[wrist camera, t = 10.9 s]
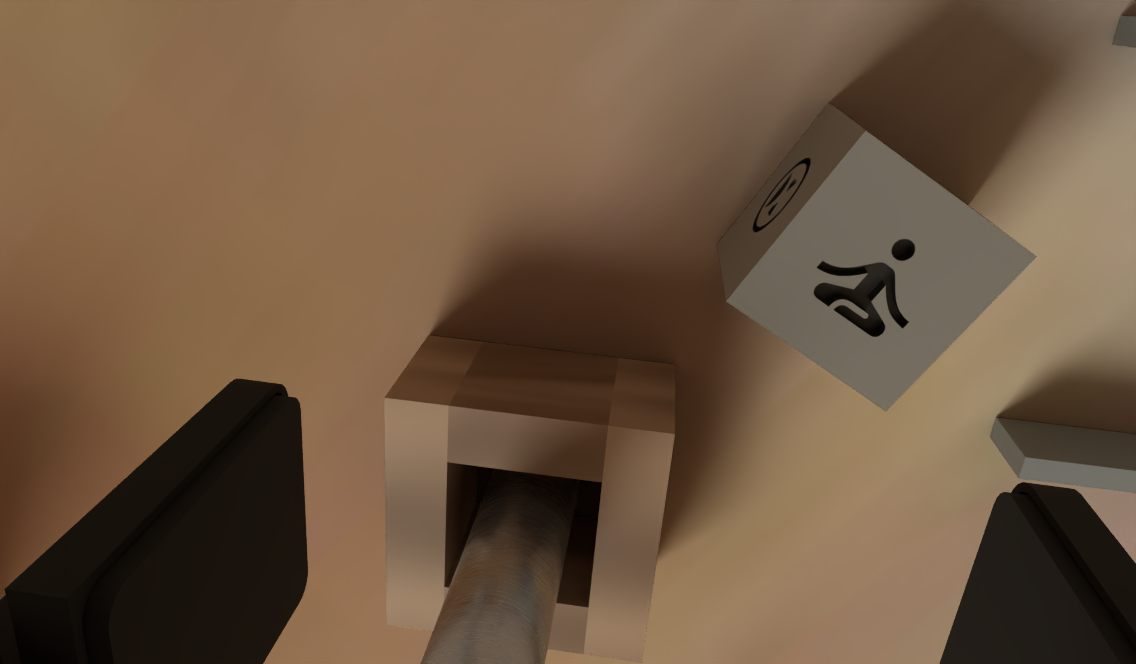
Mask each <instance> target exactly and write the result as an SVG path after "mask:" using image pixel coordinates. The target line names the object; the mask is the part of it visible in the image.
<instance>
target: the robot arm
mask: <svg viewBox="0 0 1136 664" xmlns="http://www.w3.org/2000/svg"><path fill="white" fill-rule="evenodd" d="M307 576H308V561H307V539H306V516H305V494H304V472H303V449H302V427H301V409H300V403H299V401H298V399H297V398H294V397H288V393H287V391H286V388H285V387H284V386H283V385H282V384H276V383H268V382H261V381H253V380H246V379H235V380H233V381H232V382H230V383H229V384H228V385H227V386H226V387H225V388H224V389H223V390H222V391H220V392H219V393H218V394H217V395H216V396H215V397H214V398H213V399H212V400H211V401H210V402H208V403H207V404H206V405H205V406H204V407H203V408H202V409H201V410H200V411H199V412H198V413H196V414H195V415H194V416H193V417H192V418H191V419H190V420H189V421H188V422H187V423H185V424H184V425H183V426H182V427H181V428H180V429H179V430H178V431H177V432H176V433H175V434H173V435H172V436H171V437H170V438H169V439H168V440H167V441H166V442H165V443H164V444H163V445H161V446H160V447H159V448H158V449H157V450H156V451H155V452H154V453H153V454H152V455H151V456H149V457H148V458H147V459H146V460H145V461H144V462H143V463H142V464H141V465H140V466H139V467H137V468H136V469H135V470H134V471H133V472H132V473H131V474H130V475H129V476H128V477H127V478H125V479H124V480H123V481H122V482H121V483H120V484H119V485H118V486H117V487H116V488H115V489H113V490H112V491H111V492H110V493H109V494H108V495H107V496H106V497H105V498H104V499H102V500H101V501H100V502H99V503H98V504H97V505H96V506H95V507H94V508H93V509H92V510H90V511H89V512H88V513H87V514H86V515H85V516H84V517H83V518H82V519H81V520H80V521H78V522H77V523H76V524H75V525H74V526H73V527H72V528H71V529H70V530H69V531H68V532H66V533H65V534H64V535H63V536H62V537H61V538H60V539H59V540H58V541H57V542H56V543H54V544H53V545H52V546H51V547H50V548H49V549H48V550H47V551H46V552H45V553H44V554H42V555H41V556H40V557H39V558H38V559H37V560H36V561H35V562H34V563H33V564H32V565H30V566H29V567H28V568H27V569H26V570H25V571H24V572H23V573H22V574H21V575H20V576H18V577H17V578H16V579H15V580H14V581H13V582H12V583H11V584H10V585H9V586H7V587H6V588H5V593H6V595H5V596H4V597H3V598H2V599H1V600H0V664H263V663H264V661H265V659H266V658H267V656H268V654H269V653H270V651H271V649H272V648H273V646H274V644H275V643H276V641H277V639H278V638H279V636H280V634H281V633H282V631H283V629H284V628H285V626H286V624H287V623H288V621H289V619H290V618H291V616H292V614H293V613H294V611H295V609H296V607H297V606H298V604H299V602H300V600H301V598H302V596H303V593H304V591H305V587H306V583H307ZM940 664H1136V563H1135V562H1134V561H1133V560H1132V558H1131V557H1130V556H1129V554H1128V553H1127V552H1126V551H1125V549H1124V548H1123V547H1122V546H1121V544H1120V543H1119V542H1118V541H1117V539H1116V538H1115V537H1114V535H1113V534H1112V533H1111V532H1110V530H1109V529H1108V528H1107V527H1106V525H1105V524H1104V523H1103V522H1102V520H1101V519H1100V518H1099V516H1098V515H1097V514H1096V513H1095V511H1094V510H1093V509H1092V508H1091V506H1090V505H1089V504H1088V503H1087V501H1086V500H1085V499H1084V498H1083V496H1082V495H1081V494H1080V493H1079V492H1078V491H1076V490H1075V489H1070V488H1063V487H1055V486H1048V485H1040V484H1033V483H1025V482H1022V483H1020V484H1018V485H1017V486H1016V487H1015V488H1014V489H1013V490H1012V493H1008V492H1003V493H1001V494H1000V495H999V496H998V497H997V499H996V501H995V503H994V505H993V508H992V511H991V514H990V517H989V520H988V523H987V526H986V529H985V532H984V535H983V538H982V541H981V544H980V546H979V549H978V552H977V555H976V558H975V561H974V564H973V567H972V570H971V573H970V576H969V579H968V582H967V585H966V587H965V590H964V593H963V596H962V599H961V602H960V605H959V608H958V611H957V614H956V617H955V620H954V623H953V626H952V629H951V631H950V634H949V637H948V640H947V643H946V646H945V649H944V652H943V655H942V658H941V661H940Z"/></svg>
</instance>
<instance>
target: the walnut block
mask: <svg viewBox="0 0 1136 664" xmlns="http://www.w3.org/2000/svg"><path fill="white" fill-rule="evenodd" d="M674 438H675V364H667V363H658V362H650V361H641V360H633V359H625V358H616V357H608V356H599V355H591V354H582V353H574V352H566V351H557V350H549V349H540V348H532V347H523V346H515V345H507V344H498V343H490V342H481V341H473V340H464V339H456V338H447V337H439V336H431V335H428V337H427V338H426V340H425V341H424V342H423V344H422V345H421V347H420V348H419V350H418V351H417V352H416V354H415V355H414V357H413V358H412V359H411V361H410V362H409V364H408V365H407V367H406V368H405V369H404V371H403V372H402V374H401V375H400V377H399V378H398V379H397V381H396V382H395V384H394V385H393V386H392V388H391V389H390V391H389V392H388V394H387V395H386V396H385V498H386V601H387V625H389V626H396V627H403V628H409V629H416V630H423V631H430V632H433V630H434V627H435V624H436V622H437V619H438V616H439V614H440V611H441V608H442V606H443V603H444V600H445V598H446V595H447V592H448V590H449V587H450V585H451V582H452V579H453V577H454V574H455V571H456V569H457V566H458V563H459V561H460V558H461V555H462V553H463V550H464V547H465V545H466V542H467V539H468V537H469V534H470V531H471V529H472V526H473V523H474V521H475V518H476V515H477V513H478V510H479V508H480V505H481V504H480V503H477V480H478V466H480V467H488V468H495V469H503V470H511V471H518V472H526V473H534V474H541V475H549V476H557V477H564V478H572V479H580V480H587V481H595V482H602V488H601V497H600V507H599V516H598V519H592V518H585V517H577V516H573V520H572V525H571V530H570V535H569V540H568V546H567V551H566V556H565V561H564V566H563V571H562V576H561V582H560V587H559V592H558V597H557V602H556V607H555V612H554V618H553V623H552V628H551V633H550V638H549V643H548V648H547V649H552V650H559V651H566V652H572V653H579V654H586V655H593V656H600V657H606V658H613V659H620V660H627V661H634V662H640V663H642V660H643V653H644V646H645V639H646V632H647V625H648V618H649V611H650V605H651V598H652V591H653V584H654V577H655V570H656V563H657V556H658V549H659V542H660V535H661V528H662V521H663V514H664V507H665V500H666V493H667V486H668V479H669V472H670V465H671V459H672V452H673V445H674Z"/></svg>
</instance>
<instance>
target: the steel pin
mask: <svg viewBox="0 0 1136 664" xmlns="http://www.w3.org/2000/svg"><path fill="white" fill-rule="evenodd" d="M579 484H580V479H572V478H564V477H557V476H549V475H541V474H534V473H526V472H518V471H511V470H503V469H495V468H494V470H493V473H492V476H491V478H490V481H489V484H488V486H487V489H486V492H485V494H484V497H483V500H482V502H481V505H480V508H479V510H478V513H477V515H476V518H475V521H474V523H473V526H472V529H471V531H470V534H469V537H468V539H467V542H466V545H465V547H464V550H463V553H462V555H461V558H460V561H459V563H458V566H457V569H456V571H455V574H454V577H453V579H452V582H451V585H450V587H449V590H448V592H447V595H446V598H445V600H444V603H443V606H442V608H441V611H440V614H439V616H438V619H437V622H436V624H435V627H434V630H433V632H432V635H431V638H430V640H429V643H428V646H427V648H426V651H425V654H424V656H423V659H422V661H421V664H545V659H546V654H547V648H548V643H549V638H550V633H551V628H552V623H553V618H554V612H555V607H556V602H557V597H558V592H559V587H560V582H561V576H562V571H563V566H564V561H565V556H566V551H567V546H568V540H569V535H570V530H571V525H572V520H573V515H574V510H575V505H576V499H577V494H578V489H579Z"/></svg>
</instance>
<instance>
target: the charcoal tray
mask: <svg viewBox="0 0 1136 664" xmlns="http://www.w3.org/2000/svg"><path fill="white" fill-rule="evenodd" d="M1112 44H1114V45H1121V46H1128V47H1135V48H1136V17H1134V16H1121V17H1120V21H1119V24H1118V27H1117V30H1116V34H1115V37H1114V40H1113V43H1112ZM990 438H991V439H992V441H993V442H994V444H995V445H996V446H997V448H998V449H999V451H1000V452H1001V454H1002V455H1003V457H1004V458H1005V459H1006V461H1007V462H1008V464H1009V465H1010V467H1011V468H1012V470H1013V471H1014V473H1015V474H1016V475H1017V477H1018V478H1020V479H1028V480H1036V481H1044V482H1052V483H1060V484H1068V485H1076V486H1084V487H1092V488H1100V489H1108V490H1116V491H1124V492H1132V493H1136V434H1130V433H1122V432H1114V431H1105V430H1097V429H1089V428H1080V427H1072V426H1064V425H1055V424H1047V423H1039V422H1030V421H1022V420H1014V419H1005V418H997V417H996V419H995V423H994V426H993V429H992V432H991V435H990Z"/></svg>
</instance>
